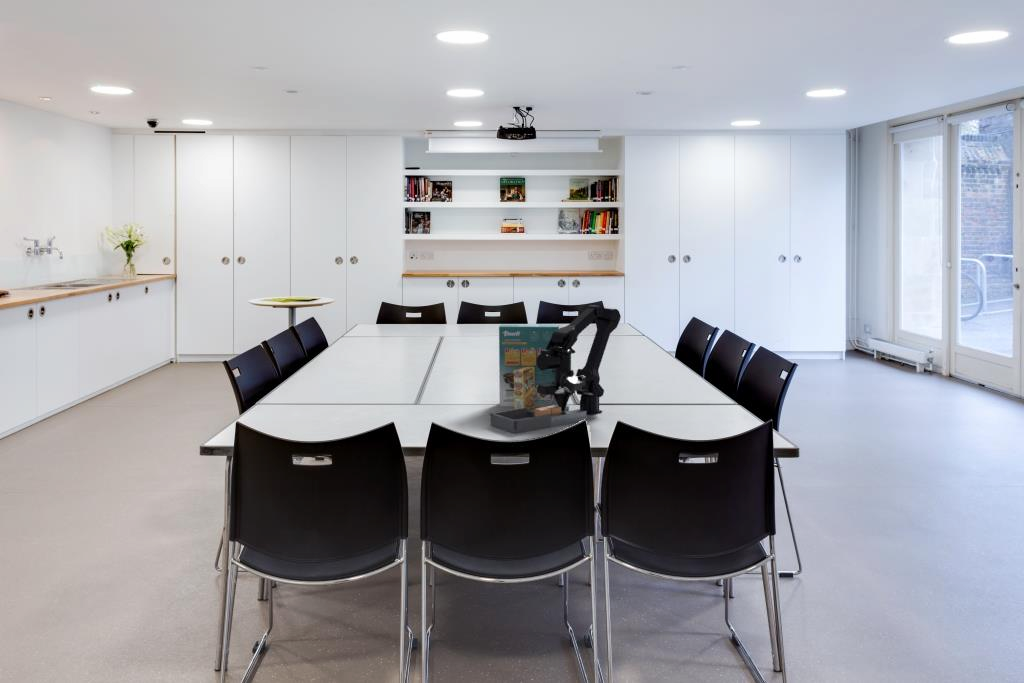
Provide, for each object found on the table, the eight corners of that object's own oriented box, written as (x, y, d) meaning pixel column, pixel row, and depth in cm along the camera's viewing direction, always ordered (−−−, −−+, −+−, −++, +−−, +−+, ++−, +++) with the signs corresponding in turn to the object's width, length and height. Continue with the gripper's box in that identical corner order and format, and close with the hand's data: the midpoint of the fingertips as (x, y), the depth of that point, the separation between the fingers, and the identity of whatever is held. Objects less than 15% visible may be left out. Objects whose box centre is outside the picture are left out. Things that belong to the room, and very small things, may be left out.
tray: (526, 419, 294) (526, 407, 293) (551, 426, 283) (551, 414, 282) (490, 425, 285) (490, 413, 285) (515, 433, 274) (514, 421, 274)
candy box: (523, 412, 305) (523, 370, 303) (513, 411, 307) (513, 369, 305) (535, 407, 312) (535, 366, 310) (525, 406, 315) (525, 366, 312)
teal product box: (558, 403, 319) (559, 325, 315) (558, 407, 313) (558, 327, 309) (501, 402, 321) (500, 324, 317) (499, 406, 315) (499, 326, 311)
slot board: (561, 413, 303) (561, 404, 303) (587, 420, 292) (587, 411, 292) (526, 419, 294) (526, 410, 294) (551, 426, 283) (551, 417, 282)
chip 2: (554, 415, 295) (554, 405, 294) (561, 417, 292) (561, 407, 291) (545, 416, 292) (545, 406, 292) (552, 418, 289) (552, 408, 289)
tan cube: (544, 416, 292) (544, 407, 292) (551, 419, 289) (551, 409, 289) (535, 418, 290) (535, 408, 289) (541, 420, 287) (541, 410, 286)
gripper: (556, 373, 280) (556, 419, 282) (598, 367, 291) (598, 411, 293) (535, 368, 289) (535, 413, 291) (577, 363, 300) (577, 406, 302)
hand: (562, 411), depth 294 cm, fingers closed
